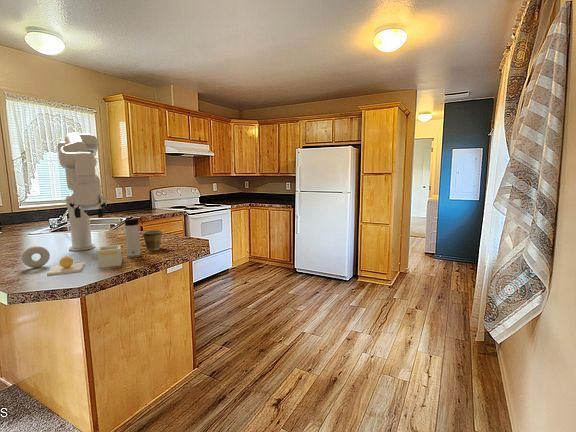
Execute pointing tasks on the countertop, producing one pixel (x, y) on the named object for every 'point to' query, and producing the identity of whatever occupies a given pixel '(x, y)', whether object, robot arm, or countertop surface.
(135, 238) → the travel mug
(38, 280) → the countertop surface
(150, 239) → the ceramic cup
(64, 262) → the ochre ball
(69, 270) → the beige square board
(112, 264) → the cream lidded box
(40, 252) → the donut
